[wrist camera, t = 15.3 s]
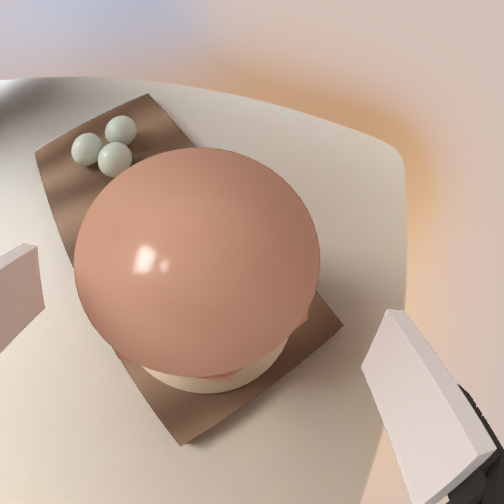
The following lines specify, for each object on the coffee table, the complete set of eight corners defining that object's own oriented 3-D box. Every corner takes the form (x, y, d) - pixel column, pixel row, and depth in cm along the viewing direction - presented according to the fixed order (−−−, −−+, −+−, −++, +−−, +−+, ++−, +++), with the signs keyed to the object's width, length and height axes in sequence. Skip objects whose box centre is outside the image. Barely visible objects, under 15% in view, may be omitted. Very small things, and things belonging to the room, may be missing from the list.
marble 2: (104, 141, 25) (97, 119, 23) (132, 127, 26) (127, 105, 24) (115, 159, 24) (107, 136, 22) (144, 144, 26) (139, 121, 23)
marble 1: (73, 158, 24) (64, 137, 21) (100, 143, 25) (92, 121, 22) (82, 178, 23) (71, 156, 21) (110, 161, 24) (102, 139, 22)
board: (38, 159, 25) (34, 152, 24) (149, 101, 30) (148, 93, 29) (182, 443, 17) (180, 446, 16) (337, 328, 22) (343, 325, 21)
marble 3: (98, 168, 24) (89, 146, 21) (127, 153, 25) (120, 129, 22) (109, 190, 23) (100, 167, 20) (140, 173, 24) (134, 149, 21)
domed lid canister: (122, 361, 18) (45, 337, 8) (153, 236, 21) (122, 138, 12) (262, 389, 18) (308, 394, 9) (278, 258, 22) (322, 169, 13)
